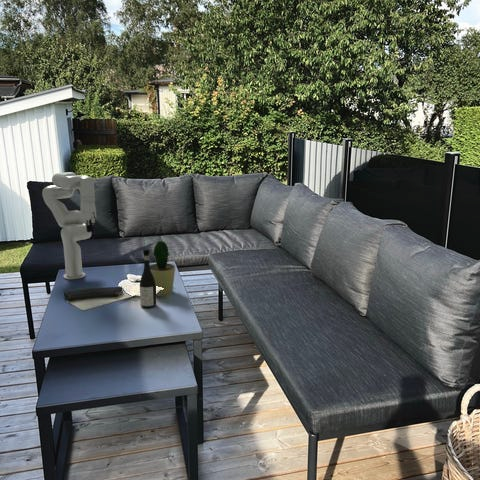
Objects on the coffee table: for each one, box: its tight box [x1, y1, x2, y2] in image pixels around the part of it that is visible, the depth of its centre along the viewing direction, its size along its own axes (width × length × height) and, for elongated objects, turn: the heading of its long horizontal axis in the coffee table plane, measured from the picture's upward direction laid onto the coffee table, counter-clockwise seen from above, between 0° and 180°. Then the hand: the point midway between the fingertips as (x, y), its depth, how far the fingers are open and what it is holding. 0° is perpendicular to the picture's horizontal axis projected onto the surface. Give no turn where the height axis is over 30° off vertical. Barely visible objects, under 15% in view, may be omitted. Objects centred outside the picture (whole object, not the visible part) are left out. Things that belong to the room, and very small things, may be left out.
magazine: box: [63, 286, 123, 302], centre depth 258 cm, size 17×3×30 cm
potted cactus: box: [149, 240, 176, 297], centre depth 264 cm, size 15×15×30 cm
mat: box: [66, 289, 133, 312], centre depth 258 cm, size 18×33×1 cm, turn 135°
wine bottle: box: [139, 248, 157, 309], centre depth 244 cm, size 8×8×30 cm
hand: (90, 231), depth 269 cm, fingers closed
